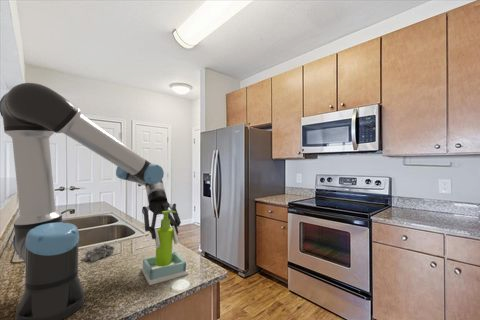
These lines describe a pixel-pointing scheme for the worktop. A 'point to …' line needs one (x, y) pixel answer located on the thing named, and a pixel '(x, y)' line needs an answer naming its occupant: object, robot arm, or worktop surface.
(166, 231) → the soap dispenser
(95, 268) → the worktop surface
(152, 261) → the cradle
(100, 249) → the egg carton
